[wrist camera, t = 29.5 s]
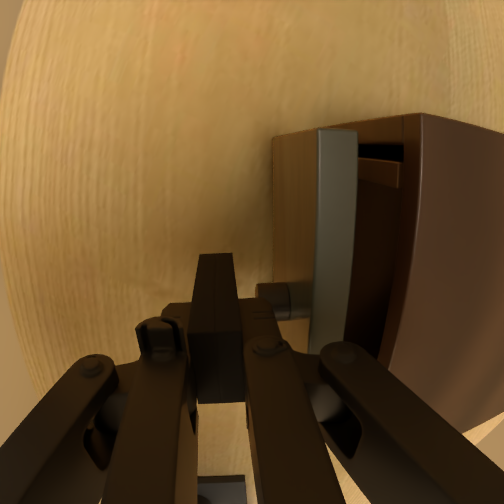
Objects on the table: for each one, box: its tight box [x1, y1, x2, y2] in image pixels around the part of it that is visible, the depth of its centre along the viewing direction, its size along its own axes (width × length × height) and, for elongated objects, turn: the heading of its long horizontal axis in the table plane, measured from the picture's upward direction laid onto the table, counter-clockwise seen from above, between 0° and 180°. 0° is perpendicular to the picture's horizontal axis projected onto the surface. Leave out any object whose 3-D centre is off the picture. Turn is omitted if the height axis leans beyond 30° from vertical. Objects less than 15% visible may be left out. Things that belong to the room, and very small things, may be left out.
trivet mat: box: [197, 475, 247, 504], centre depth 24 cm, size 13×9×1 cm
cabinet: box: [322, 113, 504, 434], centre depth 14 cm, size 15×14×9 cm
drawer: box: [255, 127, 404, 360], centre depth 13 cm, size 15×13×7 cm
